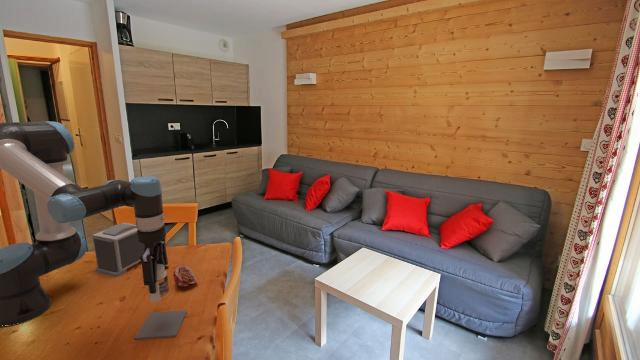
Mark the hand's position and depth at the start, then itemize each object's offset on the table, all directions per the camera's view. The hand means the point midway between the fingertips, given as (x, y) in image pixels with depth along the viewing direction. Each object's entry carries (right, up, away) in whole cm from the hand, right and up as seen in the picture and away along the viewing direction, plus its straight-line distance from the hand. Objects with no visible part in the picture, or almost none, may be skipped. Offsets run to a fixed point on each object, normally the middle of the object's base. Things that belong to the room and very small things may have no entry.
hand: (159, 294), depth 98 cm
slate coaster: (0, -11, +3) cm, 11 cm away
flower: (-2, -6, +25) cm, 26 cm away
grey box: (-37, -2, +40) cm, 54 cm away
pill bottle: (0, 0, 0) cm, 1 cm away
